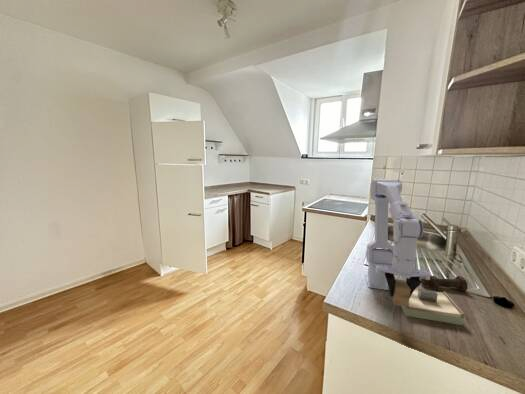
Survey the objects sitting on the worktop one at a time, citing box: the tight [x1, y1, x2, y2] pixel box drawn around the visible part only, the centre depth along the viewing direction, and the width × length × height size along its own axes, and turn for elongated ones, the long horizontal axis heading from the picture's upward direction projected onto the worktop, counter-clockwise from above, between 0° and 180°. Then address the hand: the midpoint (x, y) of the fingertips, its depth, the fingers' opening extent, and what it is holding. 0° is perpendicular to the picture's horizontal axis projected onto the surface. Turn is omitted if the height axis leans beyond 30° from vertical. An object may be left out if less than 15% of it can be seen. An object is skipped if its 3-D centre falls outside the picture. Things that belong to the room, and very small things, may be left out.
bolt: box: [420, 275, 469, 292], centre depth 90 cm, size 6×5×15 cm
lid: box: [409, 288, 461, 318], centre depth 77 cm, size 12×14×4 cm
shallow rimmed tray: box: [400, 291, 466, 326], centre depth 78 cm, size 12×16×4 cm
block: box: [388, 278, 411, 307], centre depth 70 cm, size 5×4×6 cm
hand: (398, 296), depth 71 cm, fingers closed on block, 4 cm apart
